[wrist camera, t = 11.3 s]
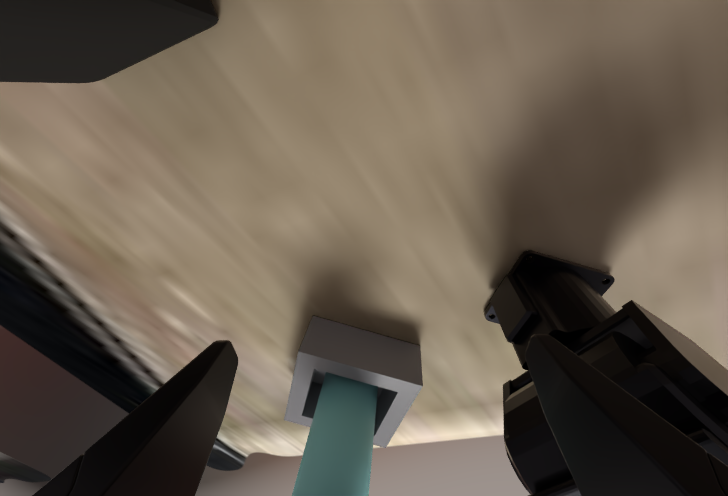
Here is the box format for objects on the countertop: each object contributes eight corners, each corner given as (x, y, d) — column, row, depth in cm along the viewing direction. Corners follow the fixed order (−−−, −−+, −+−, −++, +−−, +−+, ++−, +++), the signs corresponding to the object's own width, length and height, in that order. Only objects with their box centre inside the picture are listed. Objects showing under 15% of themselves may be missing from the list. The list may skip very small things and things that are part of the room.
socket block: (420, 345, 26) (422, 386, 22) (387, 407, 31) (385, 447, 27) (312, 315, 25) (298, 351, 22) (297, 382, 30) (284, 419, 27)
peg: (391, 361, 26) (382, 566, 15) (370, 394, 29) (349, 588, 18) (334, 341, 26) (280, 535, 15) (318, 377, 29) (263, 563, 17)
